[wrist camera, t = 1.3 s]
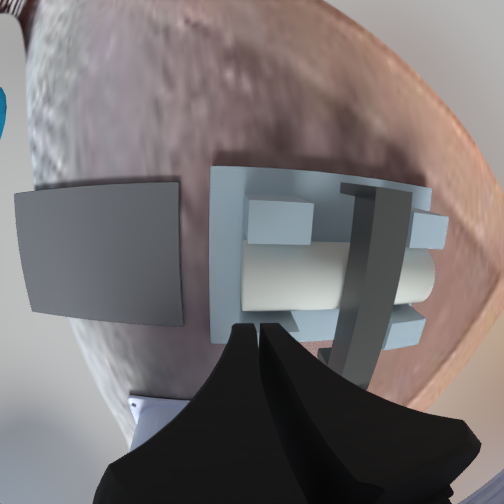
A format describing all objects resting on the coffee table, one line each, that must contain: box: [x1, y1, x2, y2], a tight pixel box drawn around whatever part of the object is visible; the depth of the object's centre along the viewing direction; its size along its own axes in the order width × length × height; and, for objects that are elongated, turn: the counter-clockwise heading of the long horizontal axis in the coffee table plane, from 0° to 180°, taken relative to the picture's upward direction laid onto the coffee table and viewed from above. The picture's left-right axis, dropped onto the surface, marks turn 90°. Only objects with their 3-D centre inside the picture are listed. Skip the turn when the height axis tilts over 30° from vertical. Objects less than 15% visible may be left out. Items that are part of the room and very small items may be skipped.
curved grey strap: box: [317, 182, 413, 390], centre depth 14 cm, size 11×2×4 cm, turn 177°
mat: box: [14, 182, 184, 327], centre depth 17 cm, size 10×14×1 cm
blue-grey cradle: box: [209, 166, 449, 350], centre depth 17 cm, size 12×16×5 cm
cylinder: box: [241, 240, 435, 311], centre depth 16 cm, size 4×12×4 cm, turn 87°
